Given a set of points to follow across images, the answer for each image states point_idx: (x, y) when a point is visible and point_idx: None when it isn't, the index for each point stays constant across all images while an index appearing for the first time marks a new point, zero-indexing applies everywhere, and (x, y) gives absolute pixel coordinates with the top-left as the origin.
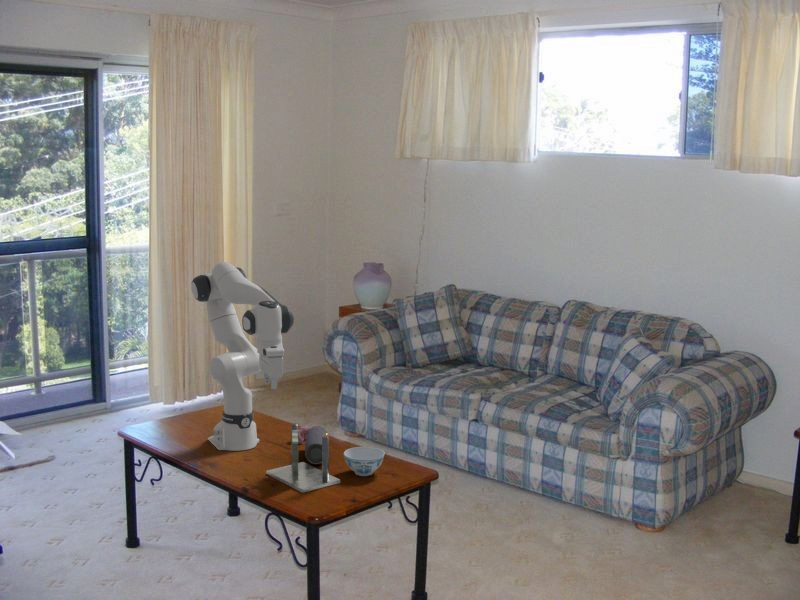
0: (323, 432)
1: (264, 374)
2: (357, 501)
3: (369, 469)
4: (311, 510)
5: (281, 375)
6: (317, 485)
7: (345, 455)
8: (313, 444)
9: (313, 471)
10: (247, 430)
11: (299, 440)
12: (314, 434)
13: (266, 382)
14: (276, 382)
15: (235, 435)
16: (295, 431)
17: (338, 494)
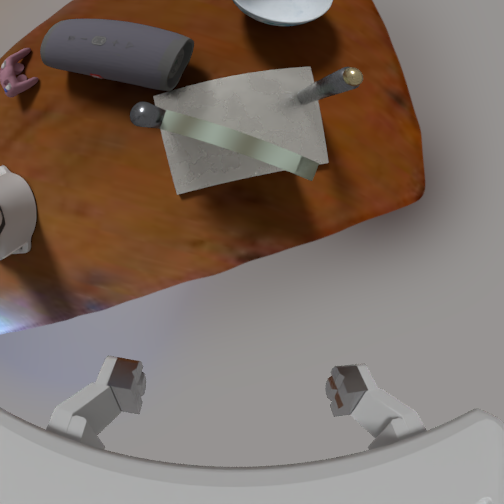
0: (92, 25)
1: (98, 433)
2: (403, 97)
3: (315, 4)
4: (401, 186)
5: (493, 419)
6: (321, 124)
7: (280, 21)
8: (172, 65)
9: (230, 93)
10: (5, 206)
11: (31, 84)
12: (104, 48)
13: (142, 387)
14: (391, 403)
15: (14, 230)
16: (180, 121)
17: (363, 104)
